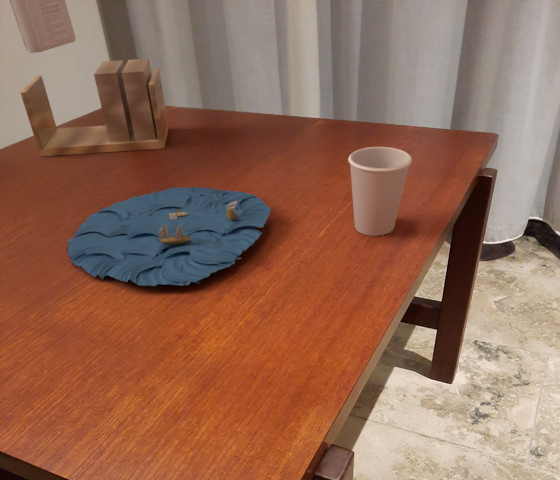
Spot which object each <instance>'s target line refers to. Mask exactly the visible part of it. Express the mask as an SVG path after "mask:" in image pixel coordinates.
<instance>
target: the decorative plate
mask: <svg viewBox="0 0 560 480" xmlns="http://www.w3.org/2000/svg"><path fill="white" fill-rule="evenodd" d="M271 210H272V209H271V206H268V205H267V204H266V203H265V202H264V201H263V199H261V198H260V197H258V196H256V195H255V194H254V193H246V192H245V191H240V190H239V191H236V190H227V189H218V188H215V187H213V188H211V187H200V186H195V187H194V186H192V187H189V186H185V187H181V186H180V187H179V186H176V187H175V186H174V187H170V188H167V189H165V190H157V191H155V192H152V193H146V194H143V195H135V196H133V197H129V198H128V199H123V200H122V201H116V202H114V203H113V204H111V205H110V206H106V207H102V208H101V209H100V210H99V211H95V212H94V213H91V214H90V215H89V216H88V217H87V219H86V220H85V221H84V222H83V223H81V224H80V225H79V227H78V230H76V231H75V232H74V237H71V238H69V239H68V241H67V246H68V248H67V253H68V257H69V258H71V260H70V262H72V264H74V265H75V266H77V267H81V268H82V270H84V271H85V272H86V273H88V274H89V275H90V276H93V277H94V278H95V277H97V276H98V277H100V279H101V280H104V277H107V276H109V277H110V278H114V279H116V280H119V281H121V282H125V283H128V281H130V282H131V283H134V284H136V285H137V286H142V287H143V286H144V287H146V286H149V287H156V286H157V285H164V286H165V285H170V286H171V285H172V286H179V287H180V286H181V287H183V286H189V285H190V284H191V283H195V284H198V285H199V284H201V282H200V281H201V280H204V279H205V278H208V277H210V275H211V274H212V273H216V272H218V271H220V270H223V269H226V268H230V267H231V266H232V265H235V264H236V260H237V261H238V260H242V257H240V255H242V253H243V252H247V250H248V249H249V248H250V247H252V246H254V244H255V243H256V241H257V240H258V239H259V238H260V236H261V235H262V233H263V232H261V231H260V230H258V229H257V228H260V229H262V228H264V226H265V225H266V224H267V220H268V218H270V214H271Z"/></svg>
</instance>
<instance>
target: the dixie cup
mask: <svg viewBox="0 0 560 480" xmlns="http://www.w3.org/2000/svg"><path fill="white" fill-rule="evenodd" d="M412 161H413V158H412V156H411V155H410V153H408V152H406V151H405V150H403V149H399V148H395V147H391V146H390V147H388V146H369V147H363V148H360V149H357V150H354V151H353V152H351V154H350V155H349V156H348V163H349V166H350V179H351V193H352V195H351V196H352V207H353V221H354V229H355V228H356V229H355V231H357V232H358V233H359V234H362V235H366V236H370V237H380V235H381V236H385V235H384V234H386V235H388V234H387V233H389V234H390V233H392V232H393V231H394V229H395V225H396V221H397V217H398V213H399V209H400V205H401V200H402V197H403V192H404V188H405V184H406V180H407V175H408V171H409V168H410V165H411V164H412V163H413V162H412ZM392 230H393V231H392ZM391 231H392V232H391ZM378 235H379V236H378Z"/></svg>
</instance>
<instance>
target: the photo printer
mask: <svg viewBox="0 0 560 480" xmlns="http://www.w3.org/2000/svg"><path fill="white" fill-rule="evenodd" d="M9 3H10V7H11V10H12V13H13V15H14V19H15V21H16V22H15V23H16V25H17V27H18V30H19V33H20V36H21V39H22V42H23V45H24V47H25V49H26V51H28V53H29V54H31V53H33V54H35V53H42V52H44V51H47V50H51V49H55V48H59V47H61V46H65V45H67V44H71V43H74V42H75V41H76V40H77V39H76V35H75V30H74V27H73V24H72V20H71V16H70V13H69V9H68V6H67V2H66V0H9Z"/></svg>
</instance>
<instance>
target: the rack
mask: <svg viewBox="0 0 560 480" xmlns="http://www.w3.org/2000/svg"><path fill="white" fill-rule="evenodd" d="M93 77H94V81H95V86H96V90H97V95H98V98H99V102H100V107H101V112H102V115H103V120H104V124H105V125H93V126H75V127H59V128H58V127H57V124H56V121H55V118H54V113H53V111H52V107H51V104H50V101H49V97H48V93H47V90H46V89H47V88H46V86H45V82H44V79H43V76H42V75H36V76H35V77H34V78H33V79H32V80H30V81H29V83H28V84H27V85H26V86H25V87H24V88H22V90H21V91H20V93H19V94H20V96H21V100H22V103H23V105H24V109H25V112H26V116H27V119H28V121H29V124H30V128H31V131H32V134H33V137H34V140H35V144H36V147H37V150H38V153H39V156H40V157H42V158H43V157H55V156H56V157H57V156H73V155H85V154H100V153H101V154H102V153H117V152H131V151H144V150H145V151H146V150H147V151H148V150H163V149H165V148H166V143H167V138H168V135H169V122H168V117H167V110H166V103H165V97H164V92H163V85H162V79H161V73H160V68H154V69H153V71H152V69H151V62H150V58H140V59H139V58H138V59H128V60H127V61H126V63H124V60H123V59H122V60H120V59H119V60H106V61H102V62H101V63H100V65H99V66H98V68H97V69H96V71H95V72H94V73H93Z"/></svg>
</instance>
